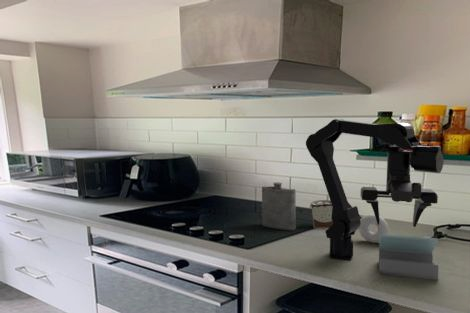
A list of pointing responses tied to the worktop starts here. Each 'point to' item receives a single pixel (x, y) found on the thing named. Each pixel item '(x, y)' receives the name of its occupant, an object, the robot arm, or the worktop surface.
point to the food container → (321, 213)
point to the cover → (407, 243)
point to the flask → (279, 207)
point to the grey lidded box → (407, 264)
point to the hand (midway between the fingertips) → (395, 225)
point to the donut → (367, 233)
